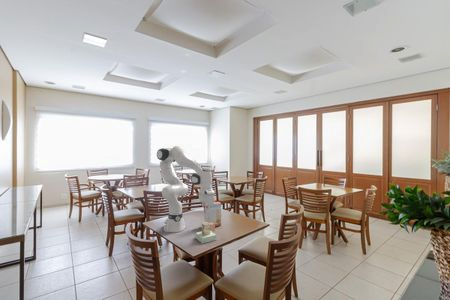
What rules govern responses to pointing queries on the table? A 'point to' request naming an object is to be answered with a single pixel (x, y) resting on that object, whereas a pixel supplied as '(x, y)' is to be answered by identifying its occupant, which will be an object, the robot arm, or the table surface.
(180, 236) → the table surface
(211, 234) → the sage pedestal block
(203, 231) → the beech block
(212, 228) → the terracotta block
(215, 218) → the cracker box
